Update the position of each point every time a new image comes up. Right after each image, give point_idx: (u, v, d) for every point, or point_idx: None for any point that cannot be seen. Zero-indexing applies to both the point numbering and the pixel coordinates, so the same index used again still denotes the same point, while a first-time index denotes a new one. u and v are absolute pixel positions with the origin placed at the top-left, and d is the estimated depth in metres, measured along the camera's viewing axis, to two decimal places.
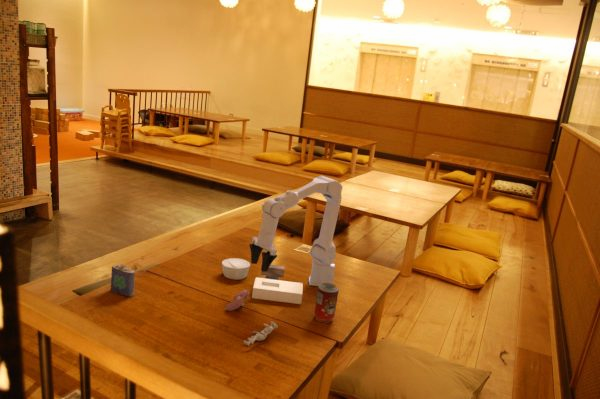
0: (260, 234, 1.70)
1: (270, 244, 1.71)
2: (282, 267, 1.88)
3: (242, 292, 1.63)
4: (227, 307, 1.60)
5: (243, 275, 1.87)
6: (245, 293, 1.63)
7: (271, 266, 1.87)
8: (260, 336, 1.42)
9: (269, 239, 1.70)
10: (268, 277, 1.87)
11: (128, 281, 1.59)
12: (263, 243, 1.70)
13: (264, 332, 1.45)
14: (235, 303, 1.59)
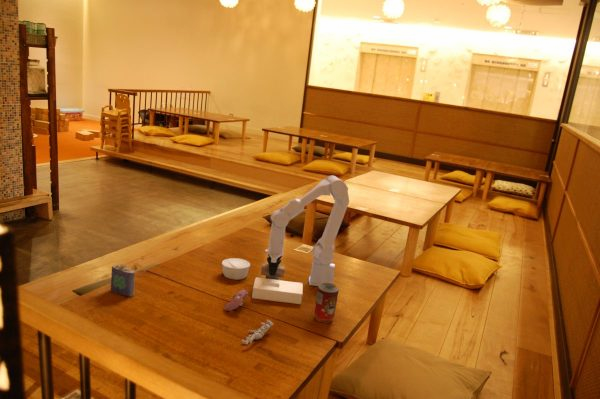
0: (269, 242, 1.85)
1: (277, 252, 1.83)
2: (282, 267, 1.88)
3: (241, 292, 1.63)
4: (226, 307, 1.60)
5: (243, 275, 1.87)
6: (244, 293, 1.63)
7: None
8: (258, 335, 1.43)
9: (275, 247, 1.83)
10: (268, 277, 1.87)
11: (128, 281, 1.59)
12: (270, 251, 1.84)
13: (261, 331, 1.45)
14: (234, 303, 1.59)
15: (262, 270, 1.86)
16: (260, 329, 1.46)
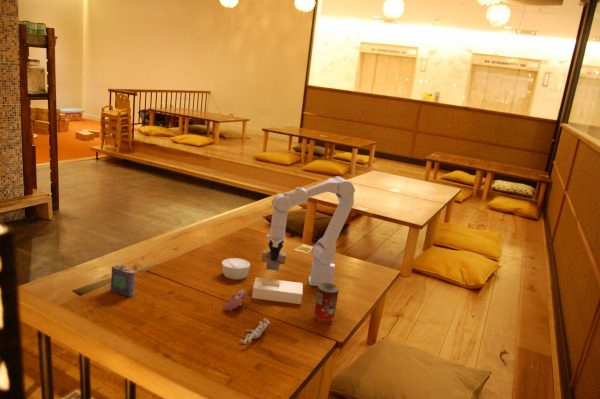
0: None
1: (278, 237, 1.80)
2: (283, 254, 1.84)
3: (240, 292, 1.63)
4: (225, 307, 1.60)
5: (243, 275, 1.87)
6: (243, 293, 1.63)
7: None
8: (256, 334, 1.43)
9: (276, 232, 1.79)
10: (269, 264, 1.84)
11: (128, 281, 1.59)
12: (271, 235, 1.80)
13: (259, 330, 1.46)
14: (233, 303, 1.59)
15: (263, 257, 1.83)
16: (258, 328, 1.46)
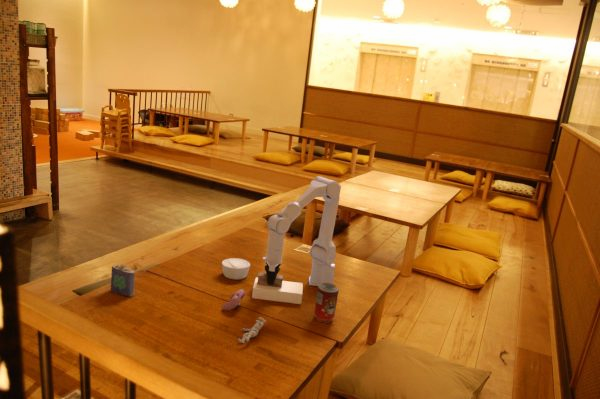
0: (267, 249, 1.73)
1: (275, 260, 1.71)
2: (280, 276, 1.76)
3: (239, 291, 1.63)
4: (224, 306, 1.60)
5: (243, 275, 1.87)
6: (242, 292, 1.63)
7: None
8: (253, 333, 1.44)
9: (273, 255, 1.71)
10: None
11: (128, 281, 1.59)
12: (268, 258, 1.72)
13: (256, 328, 1.46)
14: (232, 303, 1.59)
15: (259, 279, 1.74)
16: (254, 327, 1.47)
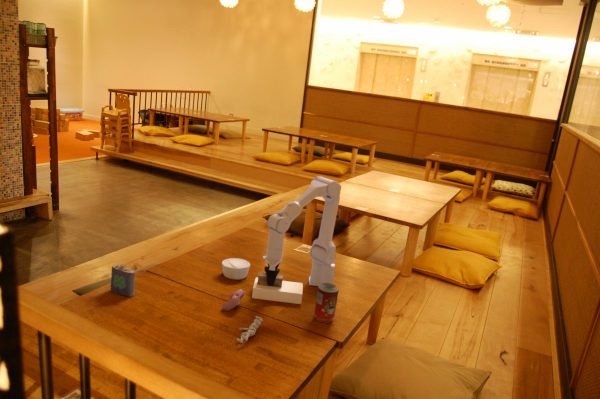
0: (267, 248, 1.73)
1: (275, 259, 1.71)
2: (280, 276, 1.76)
3: (238, 291, 1.63)
4: (223, 306, 1.60)
5: (243, 275, 1.87)
6: (241, 292, 1.63)
7: None
8: (251, 332, 1.44)
9: (273, 254, 1.71)
10: None
11: (128, 281, 1.59)
12: (268, 257, 1.72)
13: (253, 327, 1.46)
14: (231, 303, 1.59)
15: (259, 279, 1.74)
16: (252, 326, 1.47)
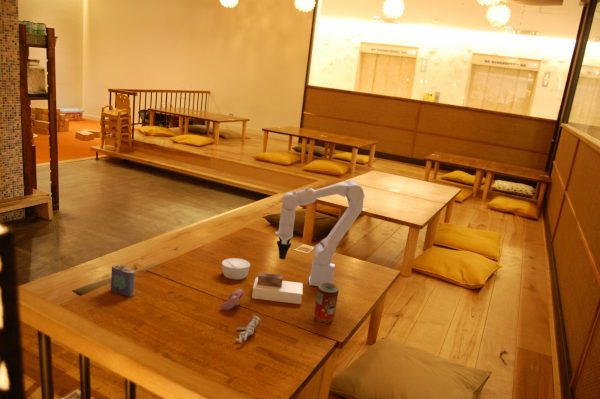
0: (279, 224, 1.86)
1: (287, 234, 1.85)
2: (280, 276, 1.76)
3: (237, 291, 1.63)
4: (222, 306, 1.60)
5: (243, 275, 1.87)
6: (240, 292, 1.63)
7: (268, 275, 1.75)
8: (250, 331, 1.44)
9: (285, 229, 1.84)
10: None
11: (128, 281, 1.59)
12: (280, 233, 1.85)
13: (251, 327, 1.47)
14: (230, 302, 1.59)
15: (259, 279, 1.74)
16: (250, 325, 1.47)
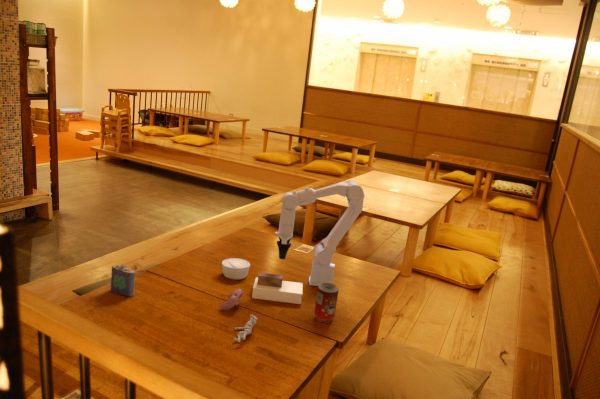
0: (279, 224, 1.86)
1: (287, 234, 1.85)
2: (280, 276, 1.76)
3: (236, 291, 1.63)
4: (222, 306, 1.60)
5: (243, 275, 1.87)
6: (239, 292, 1.63)
7: (268, 275, 1.75)
8: (248, 331, 1.44)
9: (285, 229, 1.84)
10: None
11: (128, 281, 1.59)
12: (280, 233, 1.85)
13: (249, 326, 1.47)
14: (230, 302, 1.59)
15: (259, 279, 1.74)
16: (248, 325, 1.47)
